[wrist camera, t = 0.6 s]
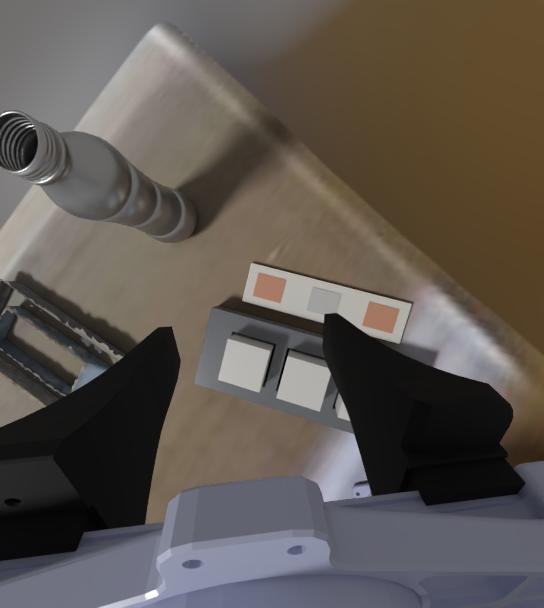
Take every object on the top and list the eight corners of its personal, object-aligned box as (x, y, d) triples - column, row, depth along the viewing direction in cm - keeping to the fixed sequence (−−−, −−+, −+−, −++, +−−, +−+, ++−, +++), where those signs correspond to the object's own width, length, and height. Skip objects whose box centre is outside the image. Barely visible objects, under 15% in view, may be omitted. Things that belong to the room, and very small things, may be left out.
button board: (419, 361, 33) (428, 368, 30) (394, 436, 34) (401, 449, 31) (218, 305, 36) (211, 307, 33) (201, 376, 37) (194, 383, 34)
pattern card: (410, 303, 32) (412, 304, 32) (398, 343, 33) (399, 344, 32) (252, 263, 35) (251, 262, 34) (242, 300, 35) (241, 300, 35)
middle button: (329, 360, 33) (332, 369, 29) (318, 398, 33) (319, 411, 30) (289, 348, 33) (287, 356, 30) (279, 386, 34) (276, 398, 30)
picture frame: (112, 435, 40) (97, 447, 37) (-18, 347, 42) (-43, 352, 39) (152, 361, 38) (139, 367, 35) (14, 272, 40) (-8, 271, 37)
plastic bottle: (196, 251, 35) (54, 209, 16) (149, 239, 36) (-42, 185, 16) (207, 201, 35) (73, 93, 15) (159, 190, 36) (-29, 74, 16)
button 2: (274, 344, 33) (270, 350, 30) (264, 381, 34) (259, 392, 30) (236, 332, 34) (227, 338, 31) (226, 370, 35) (217, 379, 31)
